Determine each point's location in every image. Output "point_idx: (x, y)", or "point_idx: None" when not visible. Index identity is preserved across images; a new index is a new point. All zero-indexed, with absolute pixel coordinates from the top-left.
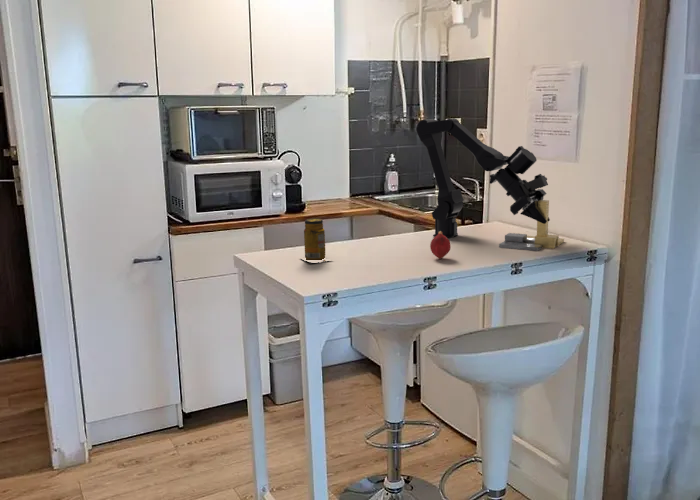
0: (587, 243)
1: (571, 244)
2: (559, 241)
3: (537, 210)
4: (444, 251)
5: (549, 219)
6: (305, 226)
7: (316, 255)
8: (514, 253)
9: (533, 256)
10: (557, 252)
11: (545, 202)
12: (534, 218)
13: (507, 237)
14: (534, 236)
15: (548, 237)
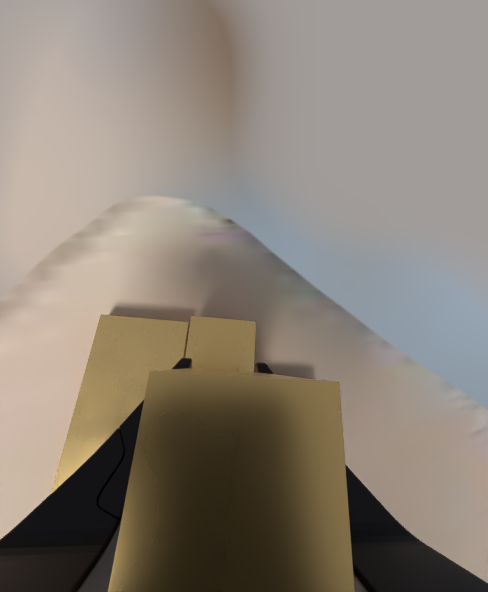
0: (119, 235)
1: (151, 284)
2: (167, 322)
3: (353, 477)
4: None
5: (189, 359)
6: None
7: None
8: (385, 459)
9: (388, 373)
10: (298, 309)
11: (330, 402)
12: None
13: None
14: (62, 474)
15: (254, 351)
